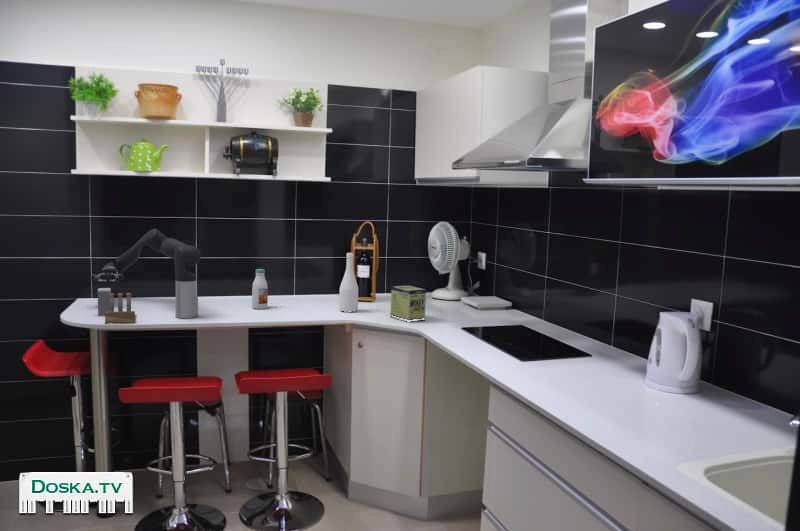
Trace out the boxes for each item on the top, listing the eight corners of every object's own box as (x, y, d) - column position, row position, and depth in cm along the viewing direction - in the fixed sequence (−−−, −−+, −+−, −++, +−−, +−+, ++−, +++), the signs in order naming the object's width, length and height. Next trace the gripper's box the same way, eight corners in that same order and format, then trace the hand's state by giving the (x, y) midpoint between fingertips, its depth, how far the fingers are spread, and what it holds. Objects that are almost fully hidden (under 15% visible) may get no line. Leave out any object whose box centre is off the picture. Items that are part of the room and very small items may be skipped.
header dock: (108, 316, 301) (107, 289, 299) (136, 315, 305) (136, 288, 303) (105, 323, 286) (104, 295, 284) (134, 323, 290) (134, 294, 288)
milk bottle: (252, 309, 330) (252, 270, 328) (251, 306, 338) (252, 268, 335) (268, 309, 333) (268, 270, 330) (266, 306, 340) (267, 268, 338)
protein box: (408, 322, 313) (409, 290, 311) (389, 317, 326) (390, 286, 324) (425, 321, 319) (427, 289, 318) (406, 315, 332) (407, 284, 330)
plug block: (99, 313, 306) (98, 288, 305) (111, 313, 308) (110, 288, 307) (98, 315, 302) (97, 290, 300) (110, 315, 303) (109, 289, 302)
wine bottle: (354, 313, 331) (356, 254, 327) (336, 312, 332) (338, 253, 329) (359, 310, 340) (361, 252, 336) (342, 308, 342) (343, 251, 338)
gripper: (93, 267, 326) (89, 272, 311) (124, 267, 331) (122, 271, 316) (93, 282, 327) (90, 287, 312) (124, 281, 332) (122, 287, 317)
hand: (106, 279), depth 314 cm, fingers open, 8 cm apart
